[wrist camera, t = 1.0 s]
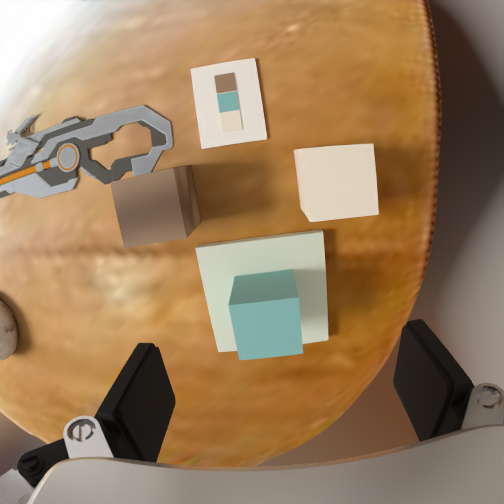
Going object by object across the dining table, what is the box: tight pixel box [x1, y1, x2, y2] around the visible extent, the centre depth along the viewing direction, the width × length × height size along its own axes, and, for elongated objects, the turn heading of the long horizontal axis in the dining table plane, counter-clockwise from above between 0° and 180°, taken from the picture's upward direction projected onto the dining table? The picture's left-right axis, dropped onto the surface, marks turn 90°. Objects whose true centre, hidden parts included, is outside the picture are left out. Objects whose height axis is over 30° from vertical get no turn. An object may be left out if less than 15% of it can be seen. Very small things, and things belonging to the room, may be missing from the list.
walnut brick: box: [111, 165, 201, 248], centre depth 26 cm, size 6×6×6 cm
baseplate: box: [196, 230, 328, 352], centre depth 31 cm, size 12×12×1 cm
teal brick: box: [228, 269, 303, 360], centre depth 27 cm, size 6×6×6 cm
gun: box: [0, 105, 173, 198], centre depth 27 cm, size 39×2×10 cm
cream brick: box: [294, 144, 379, 222], centre depth 25 cm, size 6×6×6 cm
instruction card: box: [191, 58, 267, 149], centre depth 25 cm, size 8×6×1 cm
